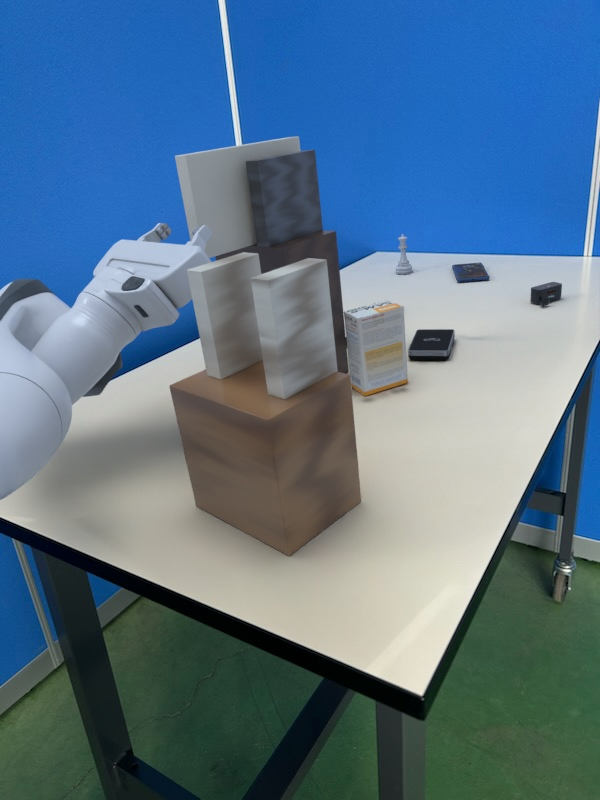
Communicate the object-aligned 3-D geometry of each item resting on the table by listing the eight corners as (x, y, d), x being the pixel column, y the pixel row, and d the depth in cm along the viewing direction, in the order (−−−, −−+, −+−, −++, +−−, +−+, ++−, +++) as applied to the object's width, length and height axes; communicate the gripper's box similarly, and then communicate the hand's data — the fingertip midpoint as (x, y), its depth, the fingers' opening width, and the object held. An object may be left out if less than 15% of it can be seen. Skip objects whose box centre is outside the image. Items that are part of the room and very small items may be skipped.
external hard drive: (454, 339, 115) (454, 329, 114) (448, 362, 106) (448, 351, 105) (417, 339, 118) (416, 329, 117) (407, 361, 108) (407, 351, 107)
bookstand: (301, 398, 100) (270, 159, 85) (236, 378, 110) (199, 163, 95) (348, 372, 107) (328, 148, 92) (283, 356, 118) (256, 153, 103)
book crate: (289, 556, 64) (248, 294, 53) (195, 506, 75) (144, 278, 63) (361, 501, 72) (340, 260, 60) (267, 462, 82) (233, 251, 71)
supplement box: (393, 374, 104) (388, 298, 98) (408, 383, 100) (405, 305, 94) (349, 387, 101) (342, 310, 96) (363, 397, 97) (357, 317, 92)
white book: (204, 259, 88) (185, 154, 83) (193, 258, 90) (174, 155, 84) (309, 228, 102) (299, 136, 96) (298, 227, 104) (287, 137, 98)
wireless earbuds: (525, 304, 129) (526, 288, 128) (552, 296, 131) (553, 281, 130) (542, 308, 125) (543, 293, 124) (569, 301, 127) (570, 285, 126)
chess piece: (414, 270, 165) (412, 232, 160) (410, 274, 161) (409, 235, 157) (397, 270, 166) (395, 232, 162) (394, 275, 163) (392, 236, 158)
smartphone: (457, 279, 148) (451, 264, 162) (457, 282, 149) (451, 267, 162) (490, 276, 147) (481, 262, 161) (490, 280, 147) (481, 265, 161)
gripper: (99, 306, 91) (157, 241, 95) (181, 326, 77) (244, 248, 82) (69, 275, 87) (131, 208, 91) (150, 290, 73) (219, 210, 78)
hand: (185, 227), depth 86 cm, fingers open, 8 cm apart
